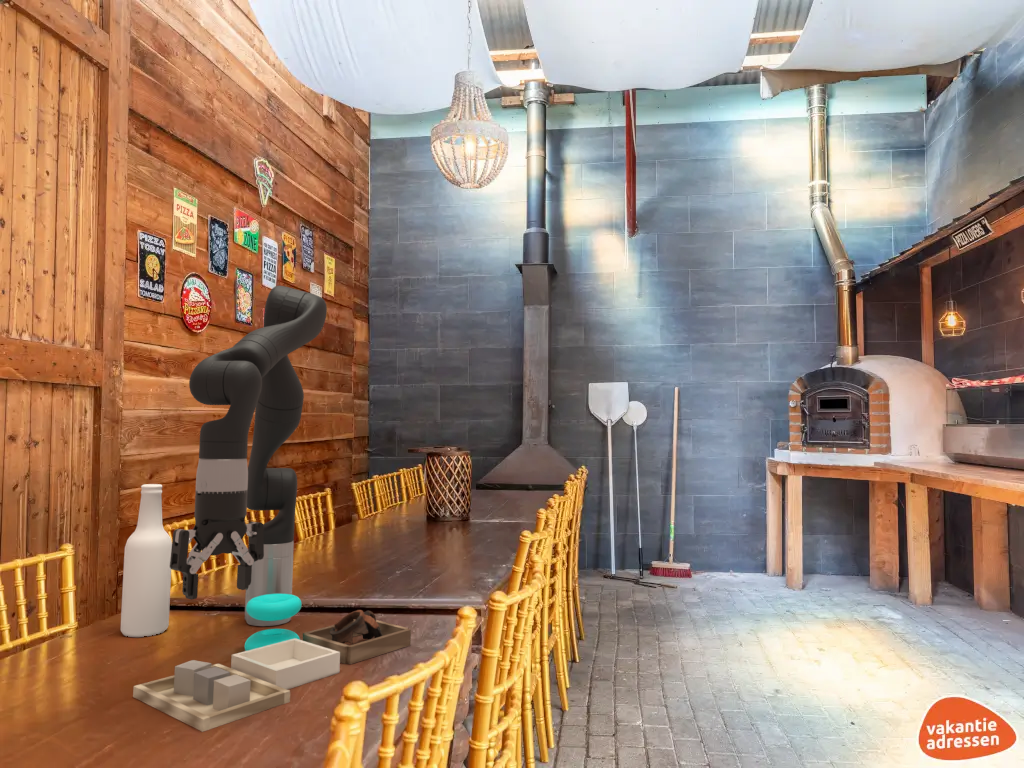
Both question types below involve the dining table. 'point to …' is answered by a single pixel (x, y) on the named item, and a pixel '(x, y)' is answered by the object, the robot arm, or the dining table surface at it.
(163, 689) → the tray
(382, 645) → the frame
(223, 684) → the grey cube near
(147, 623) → the alcohol
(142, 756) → the dining table surface
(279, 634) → the donuts
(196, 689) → the grey cube
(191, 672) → the grey stone cube
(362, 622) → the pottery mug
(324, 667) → the dish
